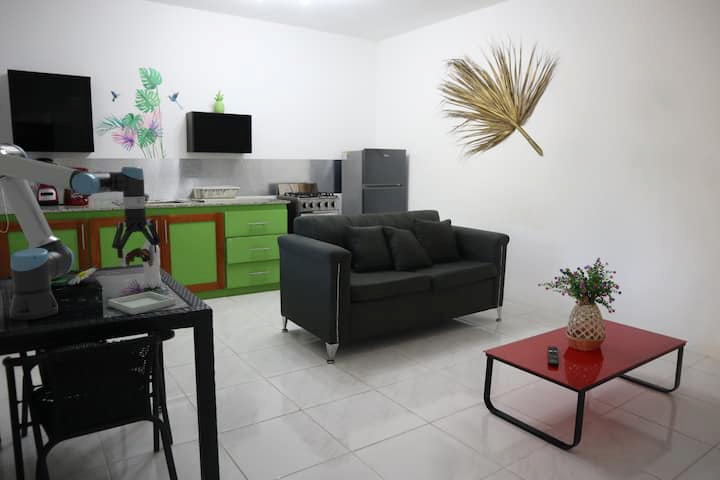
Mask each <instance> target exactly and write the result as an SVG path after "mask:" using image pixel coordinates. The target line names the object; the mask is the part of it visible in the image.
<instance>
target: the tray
mask: <svg viewBox="0 0 720 480" xmlns="http://www.w3.org/2000/svg"><path fill="white" fill-rule="evenodd" d="M107 302H108V304H107V305H108V307H110V308H112V309H115V310H117V311H118V310H119V311H121V312H124V313H127V314H130V315H133V316H134V315H138V313H139V314H142V313H147V312H151V311H154V310H160V309H164V308H169V307H173V306H176V298H174V297H171V296H167V295H164V294H160V293H156V292H154V291H145V292H141V293H136V294H132V295H126V296H122V297H121V296H120V297H117V298H112V299H111V298H110V299H108V300H107Z"/></svg>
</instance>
